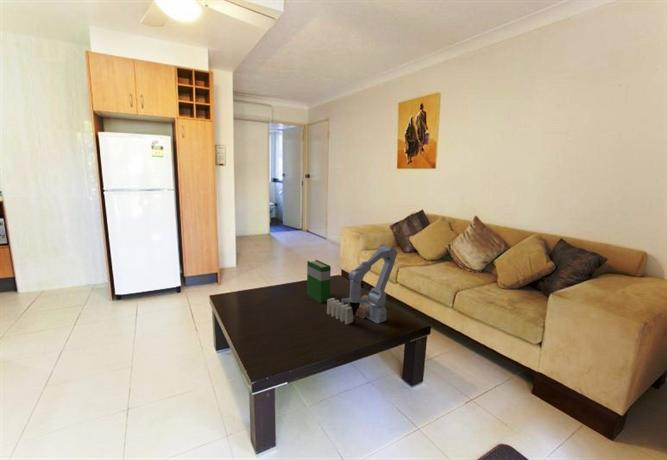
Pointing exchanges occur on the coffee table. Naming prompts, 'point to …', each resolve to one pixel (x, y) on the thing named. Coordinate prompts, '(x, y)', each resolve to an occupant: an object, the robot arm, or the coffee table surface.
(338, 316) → the domino
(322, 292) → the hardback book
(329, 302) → the domino
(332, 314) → the domino
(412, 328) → the coffee table surface
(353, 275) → the robot arm
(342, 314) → the domino
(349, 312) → the domino
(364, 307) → the stack of blocks
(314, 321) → the coffee table surface
